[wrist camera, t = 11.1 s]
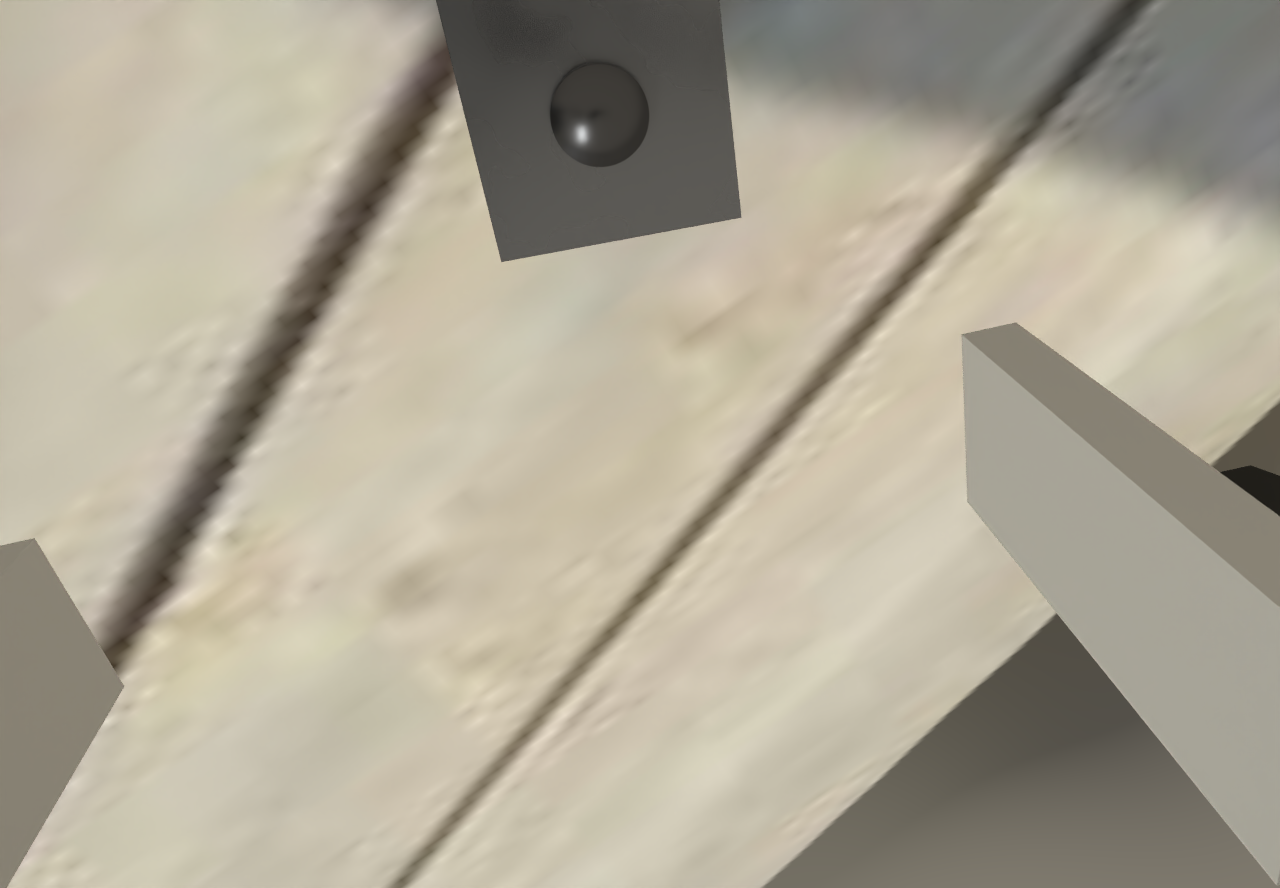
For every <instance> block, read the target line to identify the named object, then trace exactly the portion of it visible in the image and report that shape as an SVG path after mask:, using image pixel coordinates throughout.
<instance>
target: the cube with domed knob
mask: <svg viewBox="0 0 1280 888" xmlns="http://www.w3.org/2000/svg"><path fill="white" fill-rule="evenodd" d="M436 2H437V6H438V10H439V14H440V18H441V22H442V26H443V30H444V34H445V38H446V42H447V46H448V50H449V54H450V58H451V62H452V66H453V70H454V74H455V78H456V82H457V86H458V90H459V94H460V98H461V102H462V106H463V110H464V114H465V118H466V122H467V126H468V130H469V134H470V138H471V142H472V146H473V150H474V154H475V158H476V162H477V166H478V170H479V174H480V178H481V182H482V186H483V190H484V194H485V198H486V202H487V206H488V210H489V214H490V218H491V222H492V226H493V230H494V234H495V238H496V242H497V246H498V250H499V254H500V258H501V262H504V261H509V260H515V259H520V258H526V257H531V256H536V255H542V254H547V253H553V252H558V251H563V250H569V249H574V248H580V247H585V246H590V245H596V244H601V243H607V242H612V241H617V240H623V239H628V238H633V237H639V236H644V235H650V234H655V233H660V232H666V231H671V230H677V229H682V228H687V227H693V226H698V225H704V224H709V223H714V222H720V221H725V220H731V219H736V218H741V209H740V199H739V190H738V180H737V170H736V161H735V151H734V141H733V131H732V122H731V112H730V102H729V92H728V83H727V73H726V63H725V53H724V44H723V34H722V24H721V14H720V5H719V0H436Z"/></svg>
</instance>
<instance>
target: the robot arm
mask: <svg viewBox="0 0 1280 888" xmlns="http://www.w3.org/2000/svg"><path fill="white" fill-rule="evenodd" d="M962 360H963V389H964V418H965V448H966V477H967V502H968V503H969V505H970V506H971V507H972V508H973V510H974V511H975V512H976V513H977V514H978V516H979V517H980V518H981V519H982V521H983V522H984V523H985V524H986V526H987V527H988V528H989V529H990V531H991V532H992V533H993V534H994V536H995V537H996V538H997V539H998V541H999V542H1000V543H1001V544H1002V546H1003V547H1004V548H1005V549H1006V550H1007V552H1008V553H1009V554H1010V555H1011V557H1012V558H1013V559H1014V560H1015V562H1016V563H1017V564H1018V565H1019V567H1020V568H1021V569H1022V570H1023V572H1024V573H1025V574H1026V575H1027V577H1028V578H1029V579H1030V580H1031V581H1032V583H1033V584H1034V585H1035V586H1036V588H1037V589H1038V590H1039V591H1040V593H1041V594H1042V595H1043V596H1044V598H1045V599H1046V600H1047V601H1048V603H1049V604H1050V605H1051V606H1052V608H1053V609H1054V610H1055V611H1056V612H1057V614H1058V615H1059V616H1060V617H1061V619H1062V620H1063V621H1064V622H1065V624H1066V625H1067V626H1068V627H1069V629H1070V630H1071V631H1072V632H1073V634H1074V635H1075V636H1076V637H1077V639H1078V640H1079V641H1080V642H1081V643H1082V645H1083V646H1084V647H1085V648H1086V650H1087V651H1088V652H1089V653H1090V655H1091V656H1092V657H1093V658H1094V660H1095V661H1096V662H1097V663H1098V664H1099V666H1100V667H1101V668H1102V669H1103V671H1104V672H1105V673H1106V674H1107V676H1108V677H1109V678H1110V679H1111V681H1112V682H1113V683H1114V684H1115V686H1116V687H1117V688H1118V689H1119V690H1120V692H1121V693H1122V694H1123V696H1124V697H1125V698H1126V699H1127V700H1128V702H1129V703H1130V704H1131V705H1132V707H1133V708H1134V709H1135V710H1136V712H1137V713H1138V714H1139V715H1140V717H1141V718H1142V719H1143V720H1144V722H1145V723H1146V724H1147V725H1148V727H1149V728H1150V729H1151V730H1152V731H1153V733H1154V734H1155V735H1156V736H1157V738H1158V739H1159V740H1160V741H1161V742H1162V744H1163V745H1164V746H1165V747H1166V749H1167V750H1168V751H1169V752H1170V754H1171V755H1172V756H1173V757H1174V759H1175V760H1176V761H1177V763H1178V764H1179V765H1180V766H1181V767H1182V769H1183V770H1184V771H1185V772H1186V774H1187V775H1188V776H1189V777H1190V779H1191V780H1192V781H1193V782H1194V783H1195V785H1196V786H1197V787H1198V788H1199V790H1200V791H1201V792H1202V794H1203V795H1204V796H1205V797H1206V798H1207V800H1208V801H1209V802H1210V803H1211V804H1212V806H1213V807H1214V808H1215V810H1216V811H1217V812H1218V813H1219V815H1220V816H1221V817H1222V818H1223V819H1224V821H1225V822H1226V823H1227V824H1228V826H1229V827H1230V828H1231V829H1232V831H1233V832H1234V833H1235V834H1236V836H1237V837H1238V838H1239V839H1240V841H1241V842H1242V843H1243V844H1244V846H1245V847H1246V848H1247V849H1248V850H1249V852H1250V853H1251V854H1252V856H1253V857H1254V858H1255V859H1256V860H1257V862H1258V863H1259V864H1260V865H1261V867H1262V868H1263V869H1264V870H1265V872H1267V874H1268V875H1269V877H1270V878H1271V879H1272V880H1273V882H1274V883H1275V884H1276V885H1280V476H1278V475H1276V474H1273V473H1270V472H1267V471H1264V470H1262V469H1259V468H1256V467H1254V466H1246V467H1241V468H1237V469H1233V470H1228V471H1223V472H1219V471H1217V470H1216V469H1214V468H1213V467H1212V466H1210V465H1209V464H1208V463H1206V462H1205V461H1204V460H1202V459H1201V458H1200V457H1198V456H1197V455H1195V454H1194V453H1193V452H1191V451H1190V450H1189V449H1187V448H1186V447H1185V446H1183V445H1182V444H1181V443H1179V442H1178V441H1176V440H1175V439H1174V438H1172V437H1171V436H1170V435H1168V434H1167V433H1166V432H1164V431H1163V430H1161V429H1160V428H1159V427H1157V426H1156V425H1155V424H1153V423H1152V422H1151V421H1149V420H1148V419H1147V418H1145V417H1144V416H1142V415H1141V414H1140V413H1138V412H1137V411H1136V410H1134V409H1133V408H1132V407H1130V406H1129V405H1127V404H1126V403H1125V402H1123V401H1122V400H1121V399H1119V398H1118V397H1117V396H1115V395H1114V394H1113V393H1111V392H1110V391H1108V390H1107V389H1106V388H1104V387H1103V386H1102V385H1100V384H1099V383H1098V382H1096V381H1095V380H1093V379H1092V378H1091V377H1089V376H1088V375H1087V374H1085V373H1084V372H1083V371H1081V370H1080V369H1078V368H1077V367H1076V366H1074V365H1073V364H1072V363H1070V362H1069V361H1068V360H1066V359H1065V358H1064V357H1062V356H1061V355H1059V354H1058V353H1057V352H1055V351H1054V350H1053V349H1051V348H1050V347H1049V346H1047V345H1046V344H1044V343H1043V342H1042V341H1040V340H1039V339H1038V338H1036V337H1035V336H1034V335H1032V334H1031V333H1030V332H1028V331H1027V330H1025V329H1024V328H1023V327H1021V326H1020V325H1019V324H1017V323H1012V324H1007V325H1003V326H998V327H994V328H989V329H984V330H980V331H975V332H971V333H966V334H962ZM123 688H124V685H123V684H122V682H121V680H120V679H119V677H118V675H117V674H116V672H115V670H114V669H113V667H112V665H111V664H110V662H109V660H108V659H107V657H106V656H105V654H104V652H103V651H102V649H101V647H100V646H99V644H98V642H97V641H96V639H95V637H94V636H93V634H92V632H91V631H90V629H89V627H88V626H87V624H86V622H85V621H84V619H83V618H82V616H81V614H80V613H79V611H78V609H77V608H76V606H75V604H74V603H73V601H72V599H71V598H70V596H69V594H68V593H67V591H66V589H65V588H64V586H63V584H62V583H61V581H60V580H59V578H58V576H57V575H56V573H55V571H54V570H53V568H52V566H51V565H50V563H49V561H48V560H47V558H46V556H45V555H44V553H43V551H42V550H41V548H40V546H39V545H38V543H37V541H36V540H35V538H34V539H29V540H25V541H20V542H15V543H11V544H6V545H2V546H0V888H7V886H8V884H9V883H10V881H11V879H12V877H13V876H14V874H15V872H16V871H17V869H18V867H19V866H20V864H21V862H22V860H23V859H24V857H25V855H26V854H27V852H28V850H29V848H30V847H31V845H32V843H33V842H34V840H35V838H36V836H37V835H38V833H39V831H40V830H41V828H42V826H43V824H44V823H45V821H46V819H47V818H48V816H49V814H50V813H51V811H52V809H53V807H54V806H55V804H56V802H57V801H58V799H59V797H60V795H61V794H62V792H63V790H64V789H65V787H66V785H67V783H68V782H69V780H70V778H71V777H72V775H73V773H74V771H75V770H76V768H77V766H78V765H79V763H80V761H81V760H82V758H83V756H84V754H85V753H86V751H87V749H88V748H89V746H90V744H91V742H92V741H93V739H94V737H95V736H96V734H97V732H98V730H99V729H100V727H101V725H102V724H103V722H104V720H105V718H106V717H107V715H108V713H109V712H110V710H111V708H112V707H113V705H114V703H115V701H116V700H117V698H118V696H119V695H120V693H121V691H122V689H123Z"/></svg>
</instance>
